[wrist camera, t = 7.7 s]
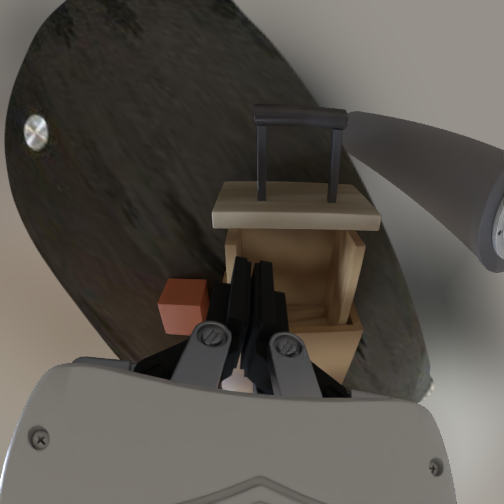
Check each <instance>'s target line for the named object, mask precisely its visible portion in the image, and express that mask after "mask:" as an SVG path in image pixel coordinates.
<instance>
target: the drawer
mask: <svg viewBox="0 0 504 504" xmlns="http://www.w3.org/2000/svg"><path fill="white" fill-rule="evenodd" d="M347 121H348V116H347V112H346V110H343V109H335V108H324V107H313V106H298V105H271V104H255V105H254V124H255V125H257V181H225V182H224V184H223V186H222V189H221V191H220V194H219V196H218V198H217V201H216V203H215V206H214V208H213V211H212V223H213V228H229V229H228V233H227V238H226V242H225V256H226V271H227V283H229V284H230V282H231V277H232V272H233V267H234V262H235V257H236V256H239V257H245V258H247V261H249V262H252V264H251V276H252V272H253V268H254V264H255V263H259V262H260V260H262V261H267V262H272V267H273V280H274V291H277V292H284V293H285V298H286V307H287V315H288V324H289V327H306V326H335V325H346V323H347V319H348V316H349V312H350V309H351V305H352V302H353V298H354V294H355V290H356V286H357V282H358V278H359V274H360V270H361V266H362V261H363V257H364V252H365V248H366V246H365V244H364V243H363V241H362V239H361V238H360V236H359V235H358V233H357V232H356V230H367V231H379V228H380V223H381V218H382V215H381V214H380V213H379V212H378V211H377V210H376V209H375V208H374V207H373V206H372V204H371V203H370V202H369V201H368V200H367V199H366V198H365V197H364V196H363V195H362V194H361V193H360V192H359V191H358V190H357V189H356V188H355V187H354V186H353V185H348V184H338V179H339V169H340V157H341V143H342V130H341V129H345V128H346V126H347ZM266 125H288V126H308V127H322V128H332V139H331V155H330V168H329V180H328V183H310V182H275V181H266V162H267V126H266Z"/></svg>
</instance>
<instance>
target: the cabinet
mask: <svg viewBox="0 0 504 504" xmlns="http://www.w3.org/2000/svg"><path fill="white" fill-rule="evenodd" d="M223 283H227V271H225V272H224V277H223ZM289 332H290V333H293V334H295V335H297V336H299V337H300V338H301V339H302V340H303V342H304V343H305V345H306V348H307V351H308V354H309V357H310V360H311V361H312V362H313V363H314V364H316V365H317V366H318V367H319V368H321V369H322V370H323V371H324V372H326V373H327V374H328V375H330V376H331V377H332V378H333V379H335V380H336V381H337V382H339V383H340V384H341V385H342V382H343V380H344V378H345V376H346V373H347V371H348V369H349V366H350V364H351V361H352V359H353V356H354V354H355V351H356V349H357V346H358V343H359V341H360V338H361V335H362V333H363V327H362V325H361V322H360V319H359V316H358V314H357V311H356V308H355V306H354V303H353V302H352V305H351V309H350V312H349V316H348V319H347V323H346V325H335V326H306V327H289ZM240 357H241V353H240ZM240 357H239V361H238V364H237V368H236V369H235V368H234V369H233V372H232V376H230V377H228V378H227V379H225V380H223V381H222V388H223V390H230V391H238V392H246V393H253V389H252V387H253V383H252V382H251V381H250V380H249V379H248V378H247V377H244V370H242V369H240Z"/></svg>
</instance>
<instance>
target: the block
mask: <svg viewBox="0 0 504 504" xmlns="http://www.w3.org/2000/svg"><path fill="white" fill-rule="evenodd" d="M209 304H210V302H209V294H208V286H207V280H206V279H173V278H169V279H168V281H167V283H166V286H165V288H164V290H163V292H162V295H161V297H160V299H159V302H158V307H159V311H160V314H161V318H162V321H163V324H164V328H165V331H166V334H178V335H191V333H192V331H193V329H194V328H195V326H196V325H198V324H199V323H201V322H204V321H206V318H207V313H208V308H209Z"/></svg>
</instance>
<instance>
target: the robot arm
mask: <svg viewBox="0 0 504 504" xmlns="http://www.w3.org/2000/svg"><path fill="white" fill-rule="evenodd" d="M492 241H493V247H494V250H495V252H496V253H497V254H498V255H499V256H500V257H501V258H502V259H504V197H503V199H502V201H501V203H500V205H499V207H498V210H497V213H496V216H495V220H494V224H493V232H492ZM251 264H252V262H249V261H247V258H245V257H239V256H236V257H235V262H234V267H233V272H232V277H231V282H230V284H229V283H223V282H218V281H214V285H213V289H212V294H211V299H210V304H209V308H208V313H207V318H206V321H204V322H201V323H199V324H198V325H196V326H195V328H194V329H193V331H192V333H191V336H190V338H189V339H187V340H185V341H183V342H181V343H179V344H177V345H174V346H172V347H170V348H168V349H166V350H163V351H161V352H159V353H157V354H154V355H152V356H150V357H148V358H145V359H143V360H141V361H140V362H138V363H130V360H116V359H105V358H95V357H79V358H77V359H75V360H74V361H73V362H72V363H66V364H61V365H57V366H55V367H53V368H51V369H50V370H48V371H47V372H46V373H45V374H44V375H43V376H42V377H41V379H40V380H39V381H38V383H37V385H36V386H35V388H34V389H33V391H32V393H31V395H30V397H29V398H28V401H27V403H26V405H25V407H24V409H23V411H22V413H21V416H20V418H19V421H18V423H17V426H16V429H15V431H14V434H13V437H12V440H11V443H10V446H9V449H8V452H7V455H6V459H5V463H4V467H3V471H2V475H1V480H0V504H457V502H456V495H455V488H454V483H453V478H452V474H451V469H450V464H449V460H448V456H447V453H446V449H445V446H444V443H443V439H442V436H441V434H440V431H439V429H438V426H437V424H436V422H435V420H434V418H433V416H432V414H431V413H430V412H429V411H428V410H427V409H426V408H425V407H423V406H421V405H419V404H417V403H414V402H411V401H408V400H403V399H397V398H392V397H389V396H385V395H380V394H374V393H369V392H364V391H359V390H354V389H351V390H350V391H347V390H346V389H345V388H344V387H343V386H342V385H341V384H340V383H339V382H337V381H336V380H335V379H333V378H332V377H331V376H330V375H328V374H327V373H326V372H324V371H323V370H322V369H321V368H319V367H318V366H317V365H316V364H314V363H313V362H312V361H311V360H310V357H309V354H308V351H307V348H306V345H305V343H304V342H303V340H302V339H301V338H300V337H299V336H297V335H295V334H293V333H290V332H289V324H288V315H287V307H286V298H285V293H284V292H277V291H274V280H273V267H272V262H267V261H262V260H260V262H259V263H255V264H254V268H253V272H252V276H251ZM240 353H241V357H240ZM239 357H240V369H242V370H244V377H247V378H248V379H249V380H250V381H251V382H252V383H253V387H252V389H253V393H246V392H238V391H230V390H223V389H220V387H221V384H222V381H223V380H225V379H227V378H228V377H230V376H232V372H233V369H234V368H235V369H236V368H237V364H238V361H239Z"/></svg>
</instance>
